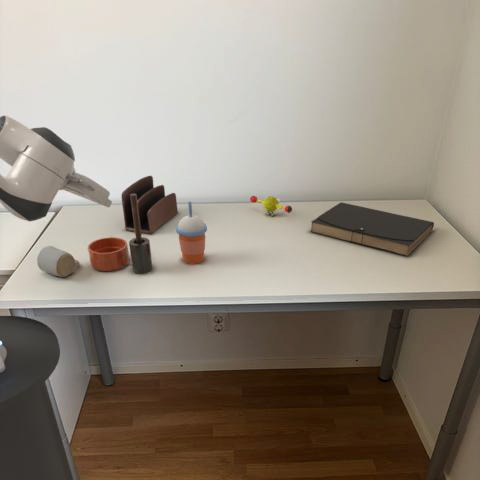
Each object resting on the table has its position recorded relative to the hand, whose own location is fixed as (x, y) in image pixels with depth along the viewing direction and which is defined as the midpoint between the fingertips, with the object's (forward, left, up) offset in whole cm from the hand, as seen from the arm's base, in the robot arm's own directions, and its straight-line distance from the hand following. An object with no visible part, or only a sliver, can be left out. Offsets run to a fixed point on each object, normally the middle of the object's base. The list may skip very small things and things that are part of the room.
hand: (97, 199), depth 128 cm
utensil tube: (+12, -2, -25) cm, 27 cm away
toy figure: (+66, -19, -25) cm, 73 cm away
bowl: (+11, +9, -25) cm, 28 cm away
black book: (+67, -55, -25) cm, 90 cm away
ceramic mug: (0, +18, -25) cm, 31 cm away
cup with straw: (+24, -12, -25) cm, 36 cm away
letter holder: (+43, +16, -25) cm, 52 cm away
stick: (+11, -2, -24) cm, 27 cm away
